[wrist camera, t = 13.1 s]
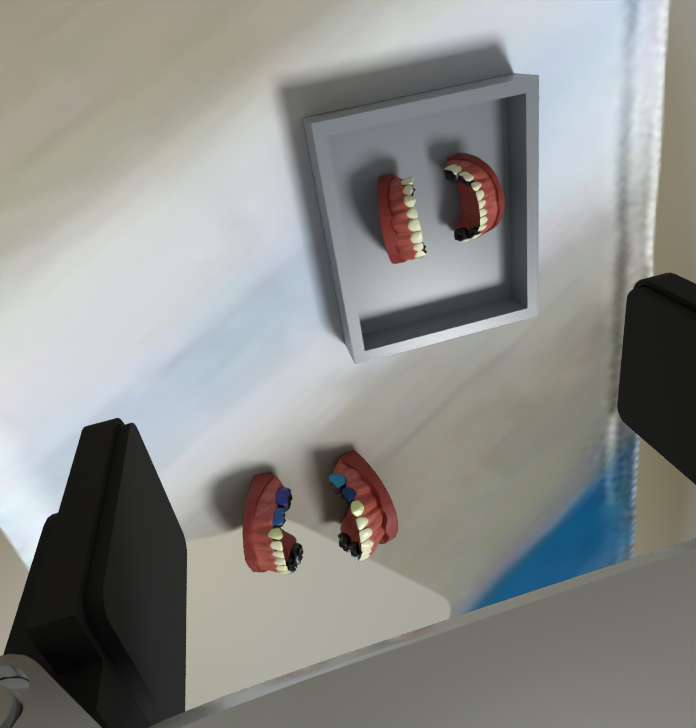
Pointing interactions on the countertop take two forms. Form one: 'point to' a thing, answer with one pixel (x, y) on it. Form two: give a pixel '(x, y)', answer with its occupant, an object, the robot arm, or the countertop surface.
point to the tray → (429, 213)
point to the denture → (476, 206)
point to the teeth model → (358, 528)
